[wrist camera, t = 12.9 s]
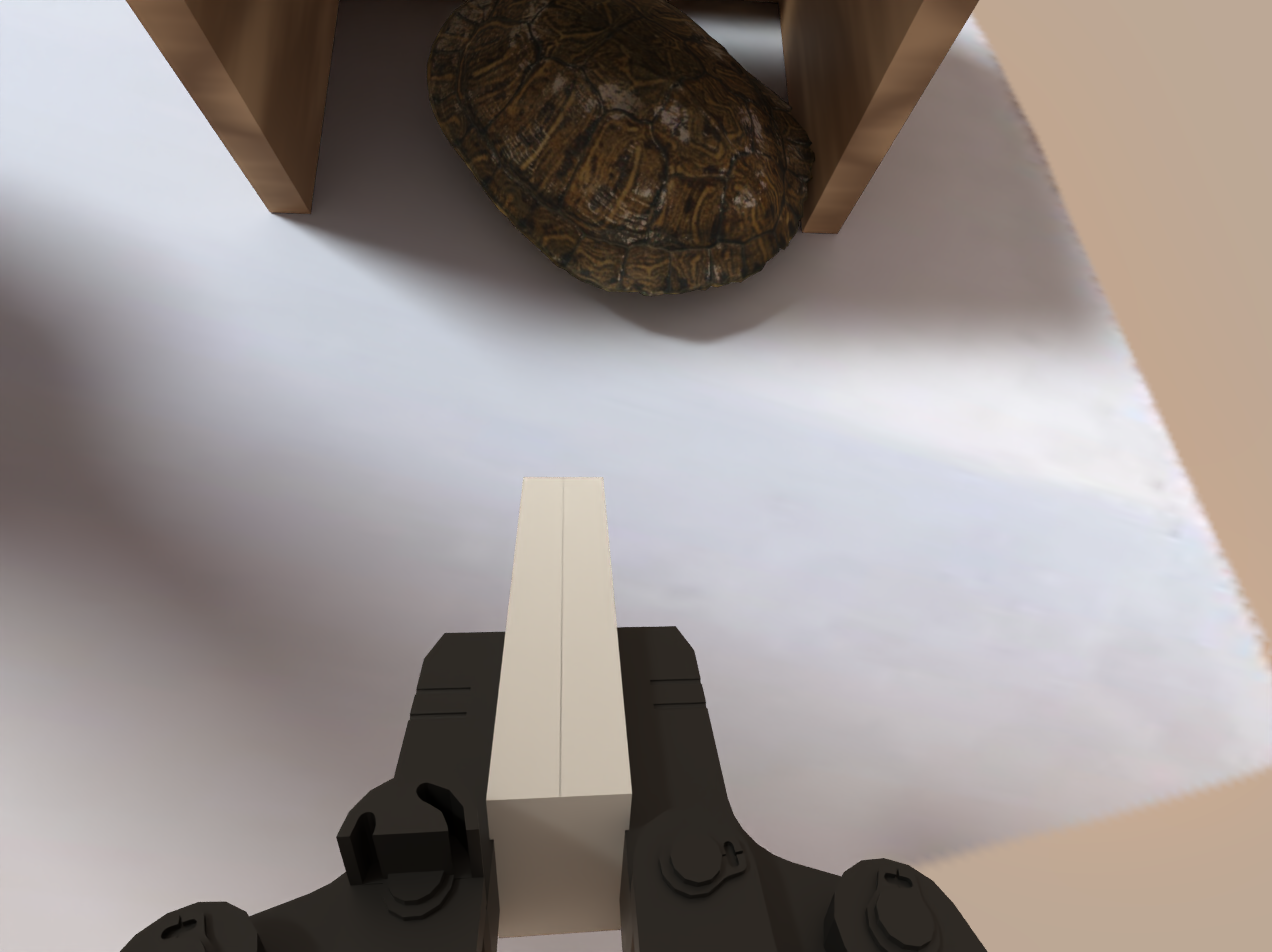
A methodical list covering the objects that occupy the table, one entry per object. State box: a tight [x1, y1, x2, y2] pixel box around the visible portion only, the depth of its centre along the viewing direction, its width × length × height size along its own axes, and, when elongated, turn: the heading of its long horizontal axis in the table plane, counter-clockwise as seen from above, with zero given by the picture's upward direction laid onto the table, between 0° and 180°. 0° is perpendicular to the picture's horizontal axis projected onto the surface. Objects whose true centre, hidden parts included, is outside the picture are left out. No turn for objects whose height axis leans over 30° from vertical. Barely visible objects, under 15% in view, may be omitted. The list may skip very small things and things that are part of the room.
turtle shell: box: [427, 0, 815, 296], centre depth 33 cm, size 16×9×20 cm
